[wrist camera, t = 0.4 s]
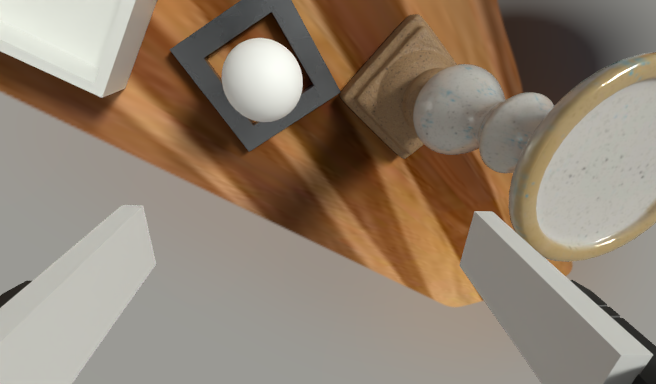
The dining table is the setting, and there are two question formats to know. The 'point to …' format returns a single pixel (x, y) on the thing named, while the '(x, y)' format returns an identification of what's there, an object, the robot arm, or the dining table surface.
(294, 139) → the dining table surface
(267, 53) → the lightbulb
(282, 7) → the dark grey square frame
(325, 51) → the dining table surface
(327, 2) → the dining table surface
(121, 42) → the bin
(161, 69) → the dining table surface
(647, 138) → the candle holder
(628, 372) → the robot arm
